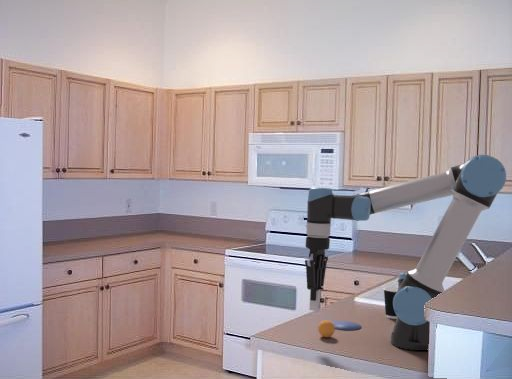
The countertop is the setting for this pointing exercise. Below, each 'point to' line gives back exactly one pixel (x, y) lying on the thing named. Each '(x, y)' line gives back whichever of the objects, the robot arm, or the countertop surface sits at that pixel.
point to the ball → (326, 328)
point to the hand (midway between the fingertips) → (314, 310)
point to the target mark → (346, 325)
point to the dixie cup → (390, 301)
